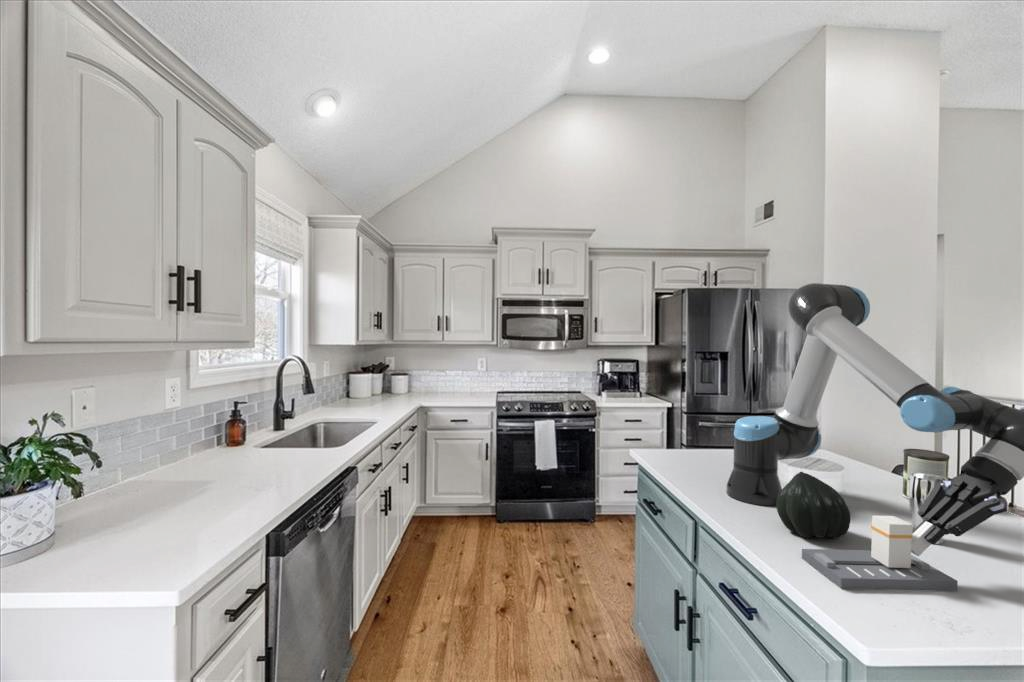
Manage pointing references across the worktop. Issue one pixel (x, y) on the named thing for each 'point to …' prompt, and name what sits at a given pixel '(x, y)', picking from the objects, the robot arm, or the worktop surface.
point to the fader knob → (891, 541)
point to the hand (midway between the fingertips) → (910, 549)
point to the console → (875, 572)
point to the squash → (812, 508)
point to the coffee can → (923, 465)
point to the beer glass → (920, 494)
